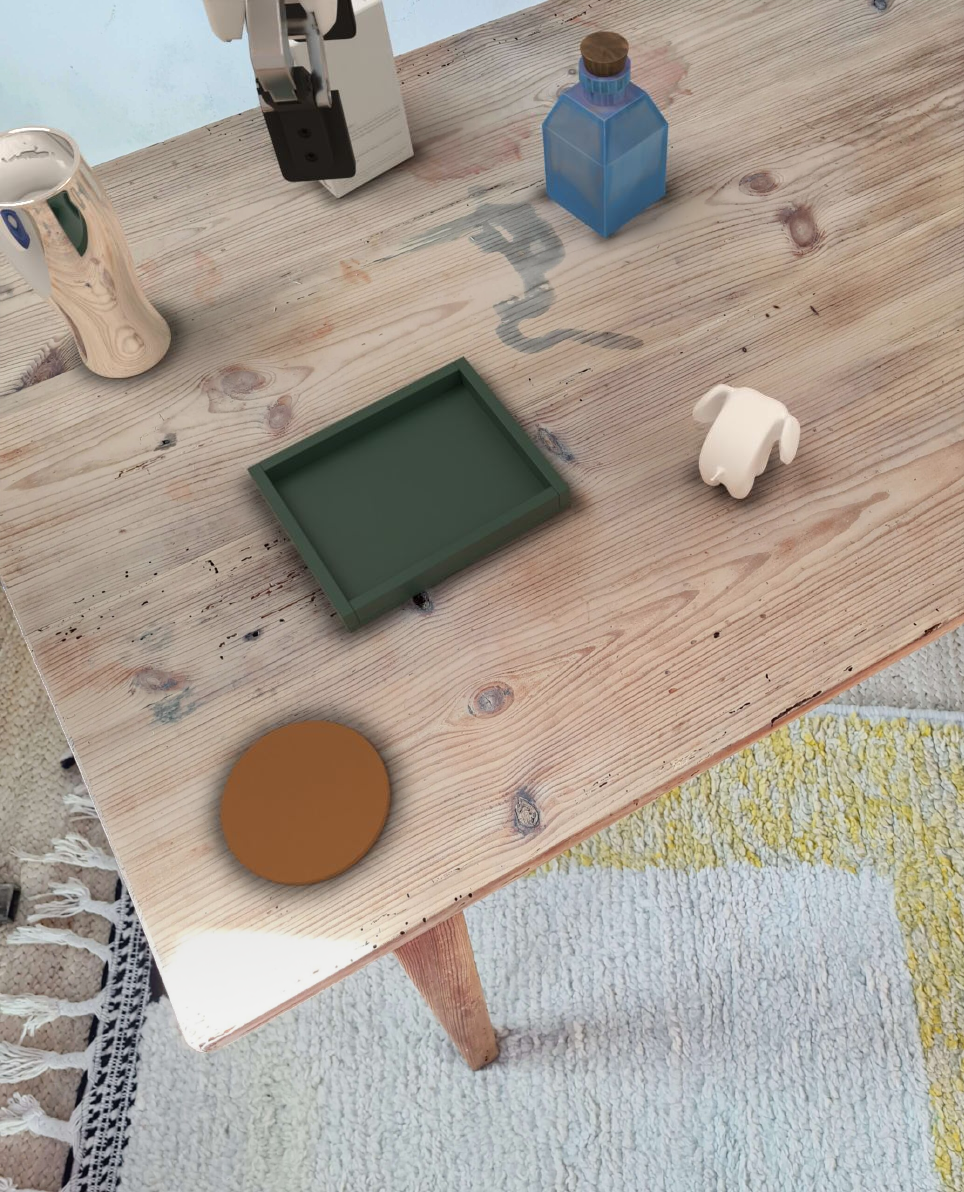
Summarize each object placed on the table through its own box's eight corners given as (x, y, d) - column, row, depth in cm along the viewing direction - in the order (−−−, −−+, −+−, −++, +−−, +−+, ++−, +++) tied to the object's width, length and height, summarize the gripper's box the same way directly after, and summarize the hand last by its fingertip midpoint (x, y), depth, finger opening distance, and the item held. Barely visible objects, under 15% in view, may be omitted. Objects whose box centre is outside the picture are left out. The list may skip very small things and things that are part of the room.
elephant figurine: (814, 448, 69) (830, 388, 64) (754, 539, 66) (766, 484, 60) (721, 403, 71) (730, 342, 65) (659, 490, 67) (663, 433, 62)
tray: (349, 633, 63) (342, 618, 61) (256, 486, 68) (246, 468, 66) (571, 506, 67) (570, 488, 65) (467, 375, 72) (463, 355, 70)
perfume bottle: (664, 195, 80) (672, 46, 69) (605, 238, 78) (603, 91, 67) (606, 154, 82) (605, 4, 71) (546, 195, 80) (536, 47, 69)
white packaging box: (362, 108, 85) (324, -53, 74) (416, 157, 82) (385, -2, 71) (282, 150, 83) (230, -9, 71) (335, 202, 80) (290, 45, 69)
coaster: (268, 919, 55) (265, 917, 55) (196, 781, 59) (192, 777, 58) (420, 823, 58) (418, 819, 57) (342, 695, 61) (339, 691, 61)
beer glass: (123, 292, 76) (20, 107, 63) (199, 330, 74) (109, 148, 61) (53, 358, 73) (-70, 180, 60) (130, 399, 71) (20, 225, 58)
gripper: (115, -464, 39) (250, -5, 54) (49, -216, 31) (230, 243, 46) (324, -474, 39) (401, -15, 54) (315, -231, 31) (408, 230, 46)
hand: (323, 103), depth 50 cm, fingers open, 9 cm apart
